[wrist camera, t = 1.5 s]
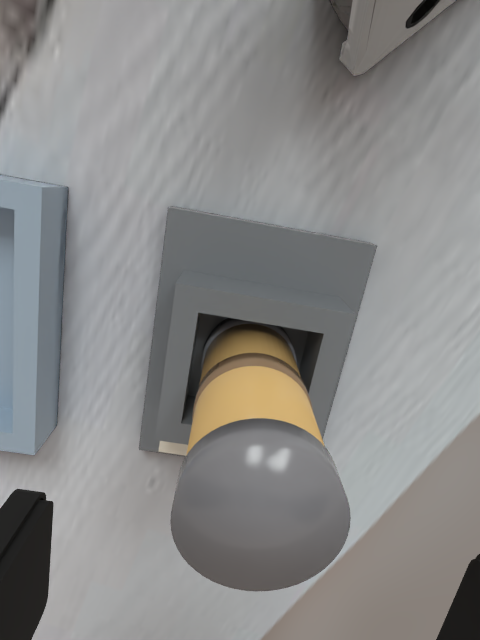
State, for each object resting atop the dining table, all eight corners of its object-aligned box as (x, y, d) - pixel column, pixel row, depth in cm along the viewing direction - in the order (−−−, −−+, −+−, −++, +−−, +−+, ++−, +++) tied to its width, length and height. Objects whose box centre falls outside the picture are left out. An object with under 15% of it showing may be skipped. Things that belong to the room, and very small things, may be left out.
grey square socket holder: (171, 206, 18) (157, 210, 15) (369, 242, 18) (399, 255, 15) (143, 437, 22) (126, 484, 18) (309, 462, 22) (321, 511, 19)
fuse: (210, 305, 18) (183, 434, 9) (302, 321, 19) (371, 462, 9) (197, 388, 20) (160, 579, 10) (282, 402, 20) (326, 600, 10)
